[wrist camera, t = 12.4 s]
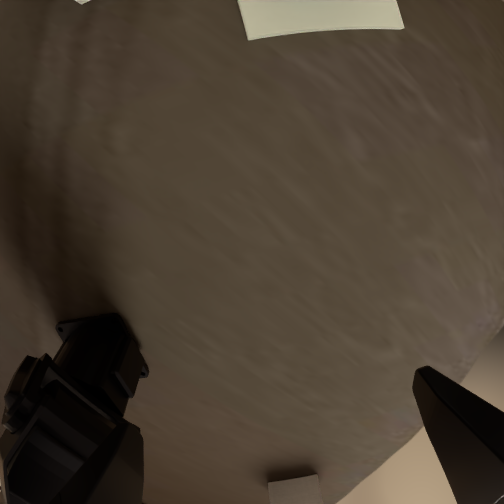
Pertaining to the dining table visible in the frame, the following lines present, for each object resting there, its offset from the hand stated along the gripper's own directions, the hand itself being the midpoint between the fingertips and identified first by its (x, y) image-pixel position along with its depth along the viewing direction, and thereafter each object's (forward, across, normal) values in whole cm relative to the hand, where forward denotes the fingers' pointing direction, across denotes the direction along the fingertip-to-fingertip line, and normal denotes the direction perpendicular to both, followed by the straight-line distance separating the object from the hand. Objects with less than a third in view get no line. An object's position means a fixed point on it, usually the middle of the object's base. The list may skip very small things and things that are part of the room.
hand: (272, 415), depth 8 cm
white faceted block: (+13, +2, +36) cm, 38 cm away
